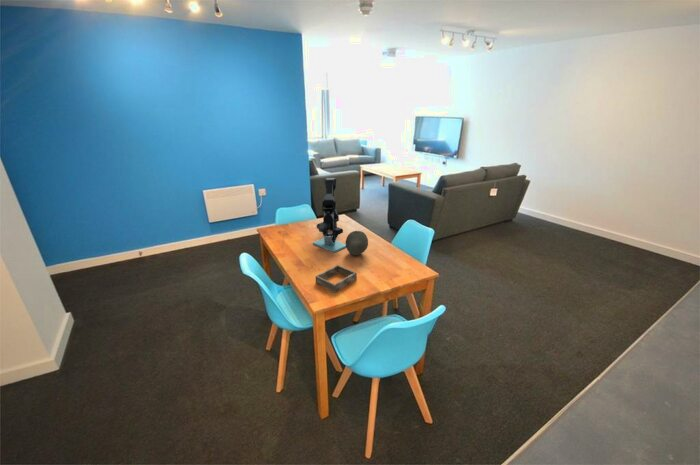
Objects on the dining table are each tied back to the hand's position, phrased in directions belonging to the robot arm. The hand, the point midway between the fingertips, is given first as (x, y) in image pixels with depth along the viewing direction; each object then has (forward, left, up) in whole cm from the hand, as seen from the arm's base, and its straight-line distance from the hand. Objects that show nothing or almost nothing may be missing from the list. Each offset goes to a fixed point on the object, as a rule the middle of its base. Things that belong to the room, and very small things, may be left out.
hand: (329, 240), depth 196 cm
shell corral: (+30, +34, -3) cm, 46 cm away
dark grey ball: (-1, +22, -4) cm, 22 cm away
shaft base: (0, 0, -3) cm, 3 cm away
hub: (0, 0, -1) cm, 1 cm away
